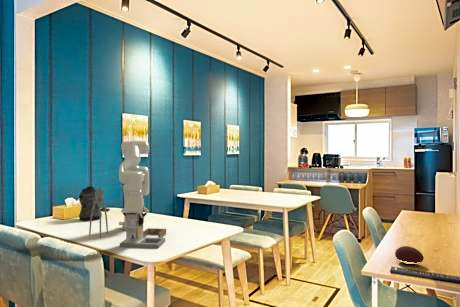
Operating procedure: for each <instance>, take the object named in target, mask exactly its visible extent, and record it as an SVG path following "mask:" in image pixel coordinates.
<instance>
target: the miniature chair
mask: <svg viewBox="0 0 460 307" xmlns="http://www.w3.org/2000/svg"><path fill="white" fill-rule="evenodd" d="M95 190H96V191H95V197H96V200H94V203H93V207H92V212H91V218H90V221H89V234H88V236H91V232H92V222H93V221H92V216H93V211H94V207H95V203H97V204H98V207H99V209H100V220H99V238H100V239H101V238H102V216H101V213H102V210H101V209H102V208H101V207H102V206H101V205H103V209H104V216H105V226H106V227H105V229H106V230H105V231H106V234H109V226H108V225H109V224H108V214H107V213H108V212H107V208H106V202H105V199H104V189H103V187H97V188H96V189H95Z"/></svg>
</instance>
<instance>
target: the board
mask: <svg viewBox="0 0 460 307" xmlns="http://www.w3.org/2000/svg"><path fill="white" fill-rule="evenodd" d="M165 242H166V237H163V238H158V237H147V236H146V237H143V238H142V239H140V240H139V241H137V242H127V241H126V239H124V240H122V241H121V242H119V248H140V249H141V248H142V249H143V248H144V249H145V248H146V249H159V248H160V247H161V246H162V245H163V244H164V243H165Z"/></svg>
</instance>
